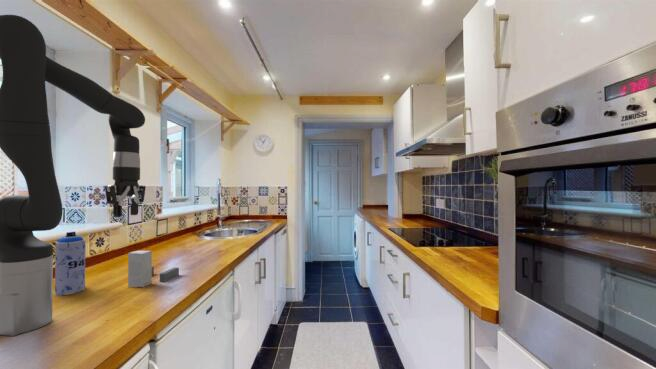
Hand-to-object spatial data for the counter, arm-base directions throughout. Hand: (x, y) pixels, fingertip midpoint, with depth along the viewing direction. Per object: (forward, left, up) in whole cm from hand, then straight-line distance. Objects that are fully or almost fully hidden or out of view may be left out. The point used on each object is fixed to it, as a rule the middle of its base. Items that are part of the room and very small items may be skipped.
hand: (126, 215), depth 93 cm
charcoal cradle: (+14, 0, -26) cm, 29 cm away
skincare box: (+6, 0, -26) cm, 27 cm away
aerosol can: (-2, +19, -26) cm, 32 cm away
